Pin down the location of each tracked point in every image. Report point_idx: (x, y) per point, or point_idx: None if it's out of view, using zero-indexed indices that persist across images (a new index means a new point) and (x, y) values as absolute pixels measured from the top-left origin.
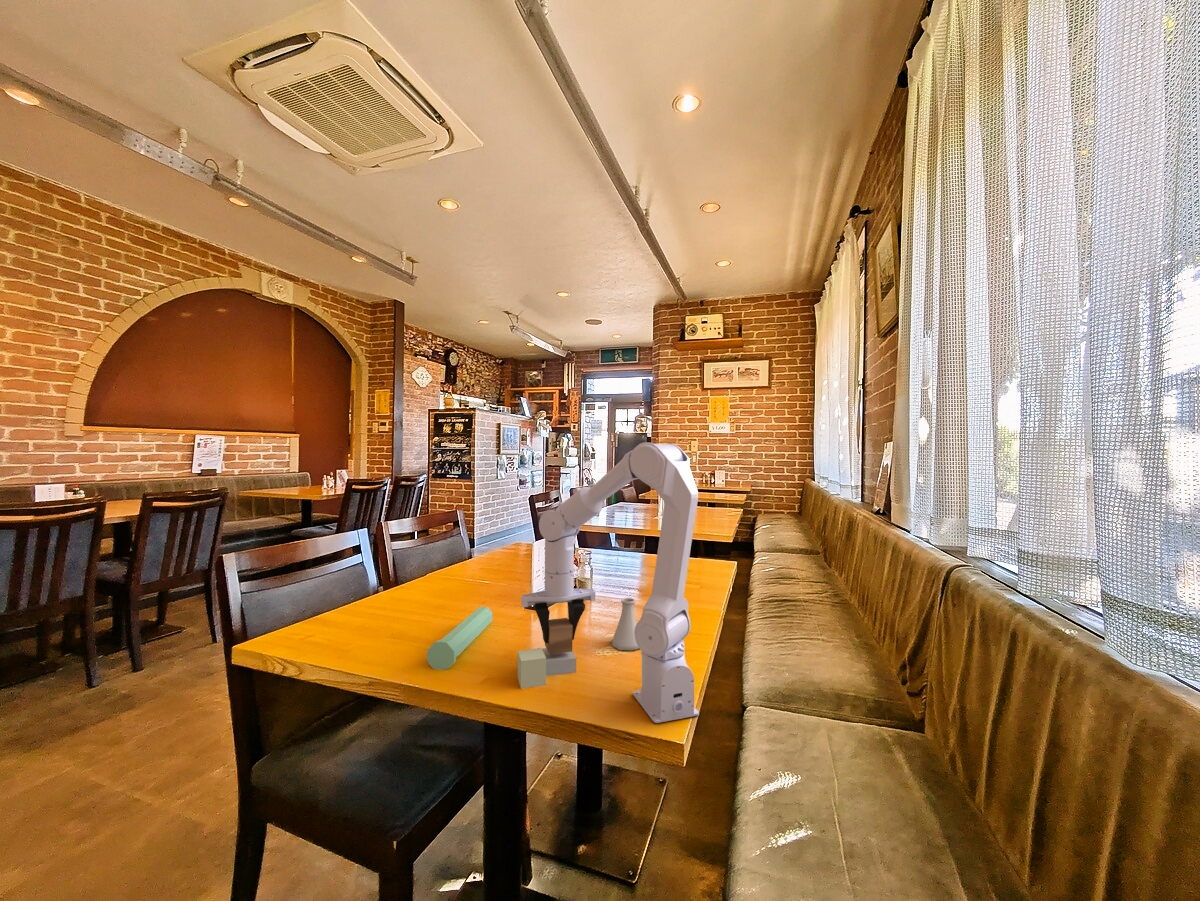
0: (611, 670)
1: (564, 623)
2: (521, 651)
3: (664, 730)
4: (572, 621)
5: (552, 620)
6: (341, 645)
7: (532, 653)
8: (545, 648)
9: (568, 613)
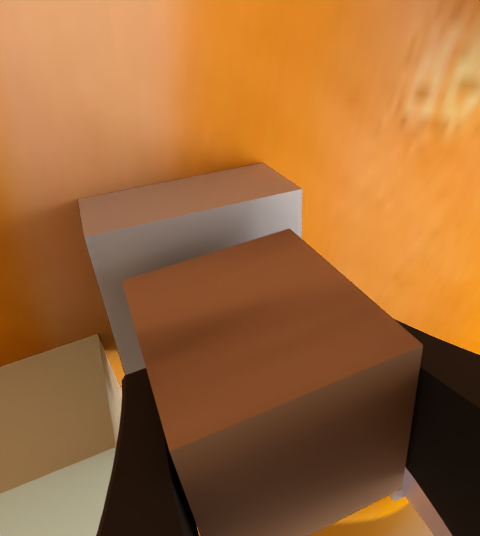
0: (403, 277)
1: (357, 471)
2: None
3: (394, 501)
4: (428, 494)
5: (259, 439)
6: None
7: (61, 517)
8: (118, 233)
9: (474, 412)
